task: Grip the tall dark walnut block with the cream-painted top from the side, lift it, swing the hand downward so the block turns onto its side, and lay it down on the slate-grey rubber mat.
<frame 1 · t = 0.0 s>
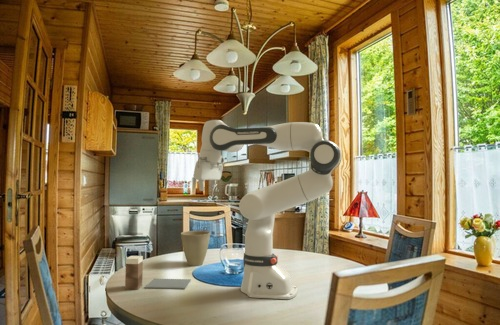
hand: (206, 190, 141), 39 cm above the table, tool pointing down, fingers open, 8 cm apart
grey mat: (168, 284, 138), on the table
walnut block: (133, 287, 134), on the table
plant pot: (195, 264, 171), on the table
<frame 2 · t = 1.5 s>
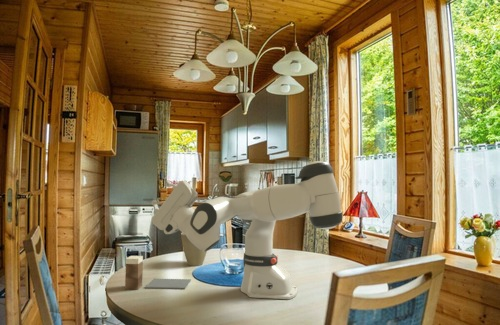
hand: (159, 191, 128), 39 cm above the table, tool pointing upward, fingers open, 8 cm apart
nothing on the table moved.
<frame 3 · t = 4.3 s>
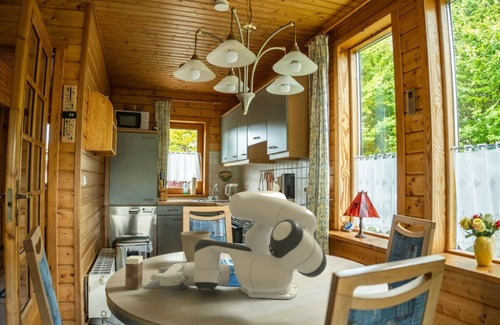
hand: (155, 273, 133), 6 cm above the table, tool horizontal, fingers open, 8 cm apart
nothing on the table moved.
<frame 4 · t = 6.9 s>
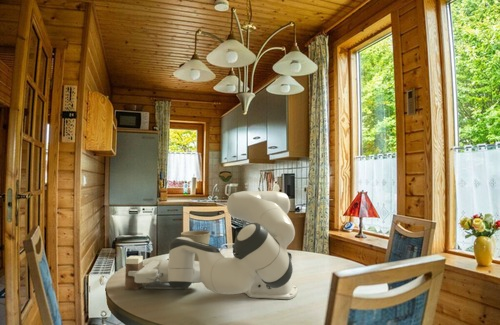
hand: (132, 270, 134), 7 cm above the table, tool horizontal, fingers closed on walnut block, 5 cm apart
walnut block: (133, 287, 134), on the table, touching gripper
everything else where it was.
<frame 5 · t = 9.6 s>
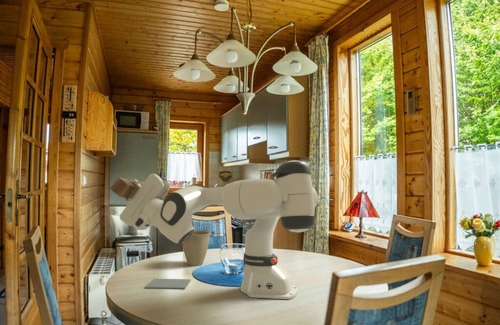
hand: (128, 187, 123), 40 cm above the table, tool pointing upward, fingers closed on walnut block, 5 cm apart
walnut block: (118, 186, 116), point 41 cm above the table, tilted 99°, touching gripper
everything else where it was.
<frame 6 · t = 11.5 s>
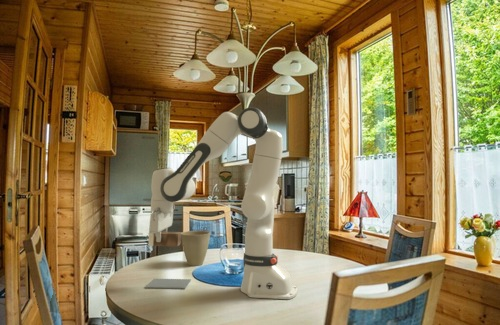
hand: (161, 240, 138), 18 cm above the table, tool pointing down, fingers closed on walnut block, 5 cm apart
walnut block: (179, 239, 138), point 19 cm above the table, tilted 90°, touching gripper
everything else where it was.
when the fingers open (4 cm above the table, at t = 14.7 s): walnut block drops 1 cm, resting on grey mat.
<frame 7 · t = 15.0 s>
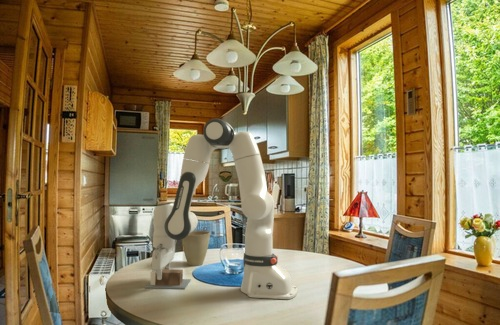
hand: (163, 275, 138), 4 cm above the table, tool pointing down, fingers open, 8 cm apart
walnut block: (181, 277, 138), point 3 cm above the table, tilted 90°, touching grey mat
everything else where it was.
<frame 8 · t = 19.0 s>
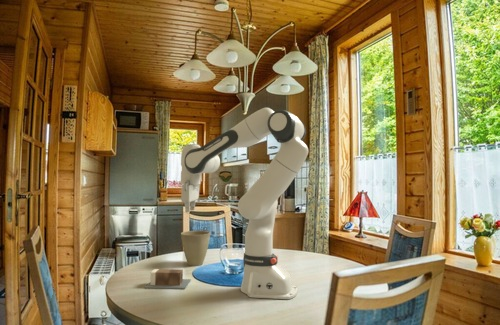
hand: (190, 211, 150), 29 cm above the table, tool pointing down, fingers open, 8 cm apart
nothing on the table moved.
at the end: walnut block tilted 90°; walnut block inside the target area (5.4 cm from its centre), point 3.1 cm above the table; the gripper is holding nothing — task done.
